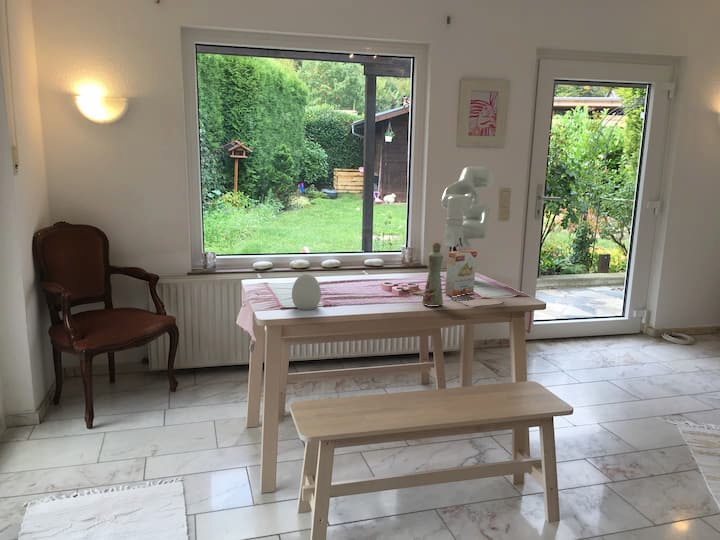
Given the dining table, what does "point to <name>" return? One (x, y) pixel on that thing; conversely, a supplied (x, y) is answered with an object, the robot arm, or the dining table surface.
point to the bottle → (434, 278)
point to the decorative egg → (306, 292)
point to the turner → (417, 292)
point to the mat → (462, 298)
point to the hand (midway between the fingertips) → (452, 260)
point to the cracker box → (460, 272)
